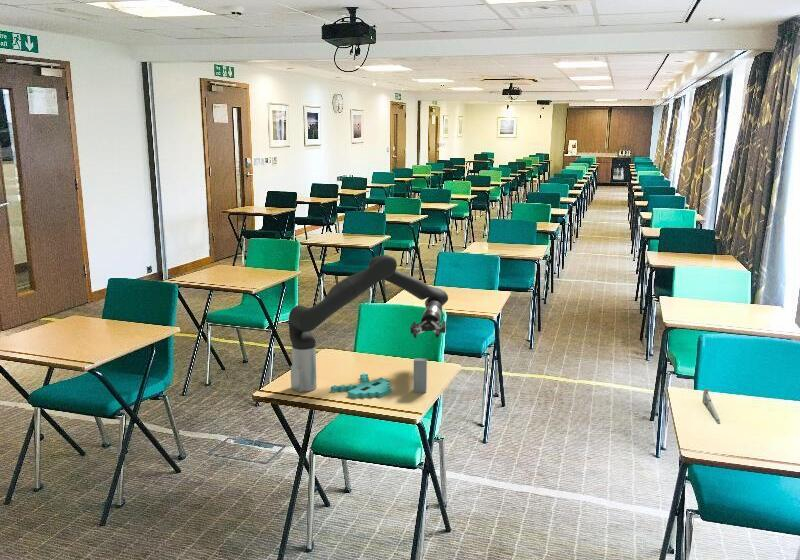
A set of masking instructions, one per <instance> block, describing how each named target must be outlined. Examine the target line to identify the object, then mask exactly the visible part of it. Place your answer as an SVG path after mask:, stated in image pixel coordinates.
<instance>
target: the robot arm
mask: <svg viewBox="0 0 800 560" xmlns="http://www.w3.org/2000/svg"><path fill="white" fill-rule="evenodd" d="M397 267H398V263H397V260H396V258H395V257H393V256H392V255H389V254H381V255H377V256H374V257H372V258H371V259H370V260H369V262H368V267H367V268H365V269H364V270H361V271H359V272H357V273H354V274H352V275H351V274H350V276H347V277H345V278H343V279H342V280H340V281H338V282H337V283H335V284H333V286H332V287H331V288H330V290H329V291H328V292H327V294H326V295H325V297H324V299H322V300H321V301H320V302H318V303H316V304H314V305H313V306H311V307H307V306H305V305H302V304H301V305H300V304H299V305H296V306H295V305H294V307H293V308H291V310H290V312H289V315H288V330H289V331H288V332H289V340H290V342H291V353H292V358H291V359H292V361H291V362H292V365H290V389H292V390H294V391H296V392H299V393H301V392H302V393H303V392H311V391H314V390H316V388H317V348H316V347H317V345H316V343H317V342H316V339H315V336H314V335H313V334H312V331H313V330H315V329H316V328H317V327H319V326H320V325H321V324H322V323H323V322H325V320H327V319H328V318H329V317H330V316H332V315H333V314H335V313H336V312H338V311H339V310H340V309H343V307H345V306H347V305H349V303H351V302H353V301H355V300H356V299H357V298H358V297H359V296H361V295H362V294H363V293H365V292H366V291H367V290H369V289H371V288H372V287H373V286H375V285H376V284H378V283H379V282H382V281H383V280H384V281H386V282H389V283H391V284H393V285H395V286H397V287H398V288H401V289H402V290H404V291H406V292H407V293H409V294H411V295H412V296H414V297H415V298H417V299H418V300H421V301H423V300H425V301H424V306H425V309H424V311H423V314H422V315H421V316H422V317H421V320H420V322H418V323H416V321H413V322H412V323H411V325H410V328H409V331H410V334H411V335H412V337H413V338H414V339H418V336H419V334H422V333H424V332H434V335H435V339H438V338H439V337H440V335H441V334H445V333H446V330H447V325H446V320H444V321H442V322H440V321H441V317H442V311H443V306H445V304H446V303H447V302H448V300H449V295H448V293H447V292H446V291H445V290H443V289H441V288H439V287H436V286H431V285H428V284H426V283H425V282H423V281H421V280H420V279H418V278H416V277H414V276H411V275H410V274H406V273H403V272H402V271H399V270H397Z"/></svg>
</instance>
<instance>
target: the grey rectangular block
mask: <svg viewBox="0 0 800 560" xmlns="http://www.w3.org/2000/svg"><path fill="white" fill-rule="evenodd" d="M427 384H428V359H427V358H420V357H419V358H417V357H414V359H413V393H422V394H423V393H424V394H425V393H427V387H428V385H427Z"/></svg>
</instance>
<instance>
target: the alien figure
mask: <svg viewBox="0 0 800 560" xmlns="http://www.w3.org/2000/svg"><path fill="white" fill-rule="evenodd" d="M368 375H369V374H368V373H361V374H360V375H359V376H360V377H359V379H360V383H357V384H356V385H354V384H351V383H350V384H349V385H345V384H341V385H331V386H330V391H331V392H334V393H337V392H339V391H340V392H342V393H344V392H346V391H347V397H350V398H353V399H356V400H357V399H359V398H362V399H365V398H366V399H367V398H372V399H373V398H375V397H379V398H383V397H385V396H388V395H389V394H391V393H392V391H393V390H392V389H393V388H392V386H391V383H390V380H389V379H387V378H383V377H379V378H377V379H374V380H372V381H370V379H369V378H370V377H369V376H368Z"/></svg>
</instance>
